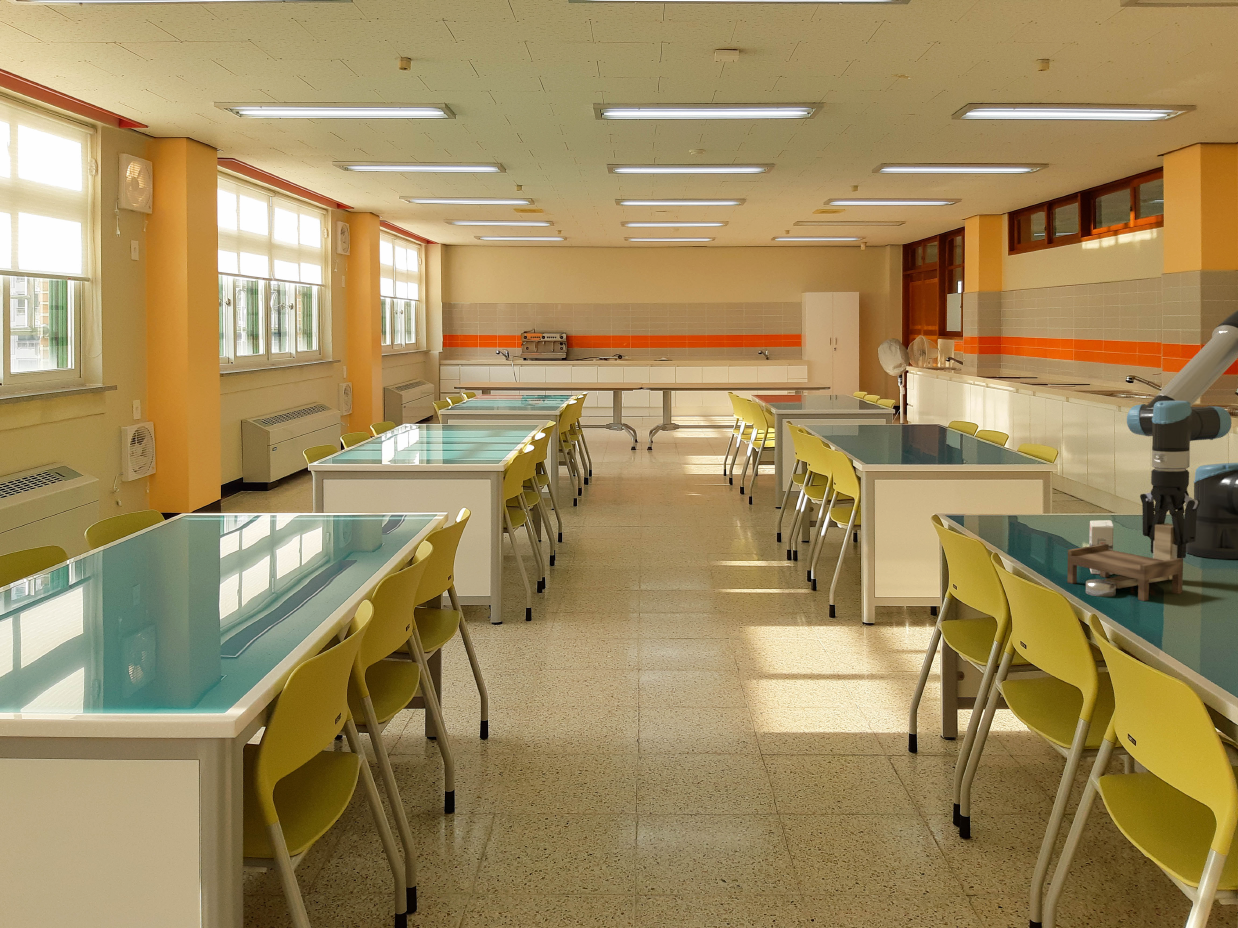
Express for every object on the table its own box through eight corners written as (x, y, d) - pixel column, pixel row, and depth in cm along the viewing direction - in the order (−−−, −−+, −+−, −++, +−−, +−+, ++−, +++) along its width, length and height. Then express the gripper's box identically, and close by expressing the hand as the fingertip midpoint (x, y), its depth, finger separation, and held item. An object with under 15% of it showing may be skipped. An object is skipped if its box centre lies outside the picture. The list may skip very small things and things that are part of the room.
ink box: (1088, 566, 245) (1089, 519, 243) (1110, 567, 243) (1111, 519, 242) (1090, 574, 237) (1091, 525, 235) (1113, 575, 235) (1114, 526, 234)
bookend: (1165, 573, 230) (1166, 523, 229) (1181, 577, 227) (1182, 525, 225) (1103, 584, 222) (1105, 532, 221) (1119, 588, 219) (1120, 535, 217)
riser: (1104, 575, 235) (1104, 543, 234) (1182, 593, 217) (1183, 558, 216) (1067, 582, 230) (1067, 549, 229) (1143, 600, 212) (1144, 565, 211)
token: (1100, 588, 223) (1101, 578, 223) (1122, 594, 218) (1122, 583, 217) (1079, 592, 221) (1079, 581, 221) (1100, 598, 216) (1100, 586, 216)
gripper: (1125, 466, 231) (1123, 565, 234) (1194, 474, 215) (1191, 579, 218) (1148, 464, 234) (1146, 561, 237) (1217, 471, 218) (1214, 574, 221)
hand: (1167, 569), depth 227 cm, fingers closed on bookend, 4 cm apart
